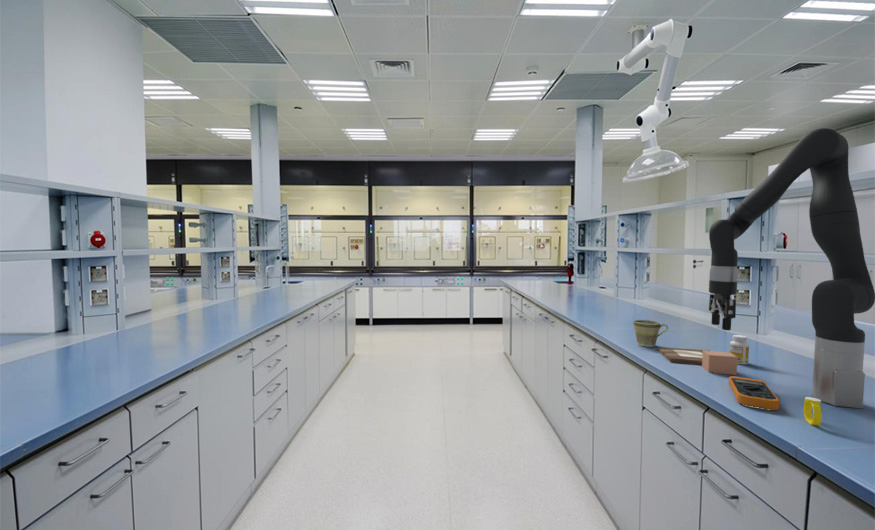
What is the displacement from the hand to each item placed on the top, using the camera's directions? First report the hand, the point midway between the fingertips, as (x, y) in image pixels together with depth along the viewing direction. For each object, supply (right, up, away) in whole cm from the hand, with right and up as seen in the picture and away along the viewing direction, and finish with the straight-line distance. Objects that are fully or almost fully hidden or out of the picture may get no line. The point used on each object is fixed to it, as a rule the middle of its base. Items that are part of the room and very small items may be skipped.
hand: (720, 327), depth 128 cm
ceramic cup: (-5, -13, +33) cm, 36 cm away
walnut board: (0, -14, +15) cm, 21 cm away
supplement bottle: (+14, -15, +10) cm, 23 cm away
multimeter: (-8, -17, -22) cm, 29 cm away
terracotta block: (0, -15, +1) cm, 15 cm away
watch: (-6, -17, -37) cm, 41 cm away
